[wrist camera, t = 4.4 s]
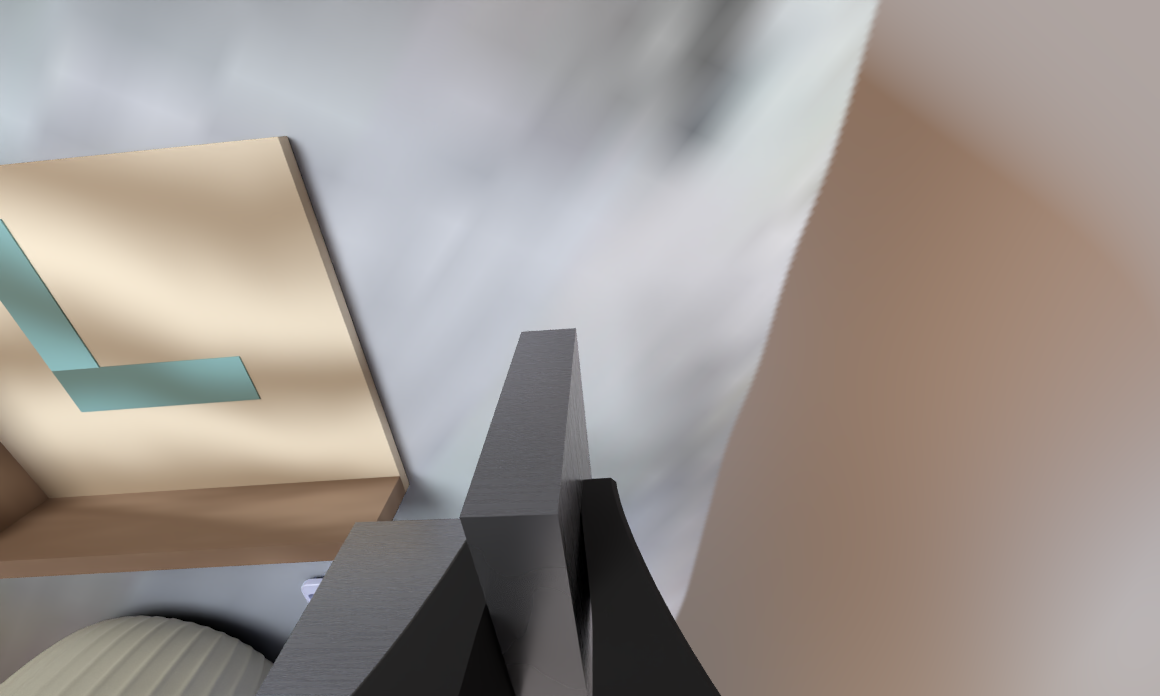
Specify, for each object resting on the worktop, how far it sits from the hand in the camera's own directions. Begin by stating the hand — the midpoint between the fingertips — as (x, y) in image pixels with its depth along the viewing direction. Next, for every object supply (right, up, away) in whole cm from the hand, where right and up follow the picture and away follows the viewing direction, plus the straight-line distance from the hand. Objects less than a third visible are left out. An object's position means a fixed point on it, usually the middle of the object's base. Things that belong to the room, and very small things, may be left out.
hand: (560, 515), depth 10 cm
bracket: (-3, +1, +2) cm, 3 cm away
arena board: (-17, +3, +8) cm, 20 cm away
